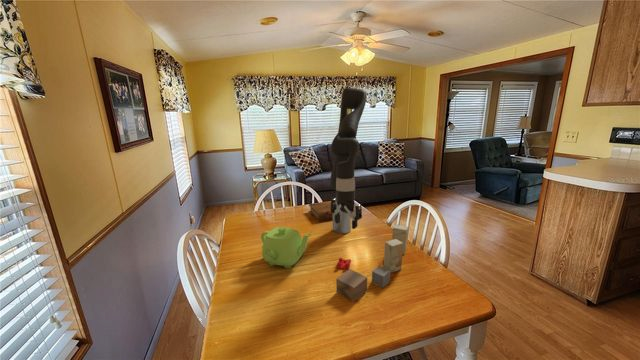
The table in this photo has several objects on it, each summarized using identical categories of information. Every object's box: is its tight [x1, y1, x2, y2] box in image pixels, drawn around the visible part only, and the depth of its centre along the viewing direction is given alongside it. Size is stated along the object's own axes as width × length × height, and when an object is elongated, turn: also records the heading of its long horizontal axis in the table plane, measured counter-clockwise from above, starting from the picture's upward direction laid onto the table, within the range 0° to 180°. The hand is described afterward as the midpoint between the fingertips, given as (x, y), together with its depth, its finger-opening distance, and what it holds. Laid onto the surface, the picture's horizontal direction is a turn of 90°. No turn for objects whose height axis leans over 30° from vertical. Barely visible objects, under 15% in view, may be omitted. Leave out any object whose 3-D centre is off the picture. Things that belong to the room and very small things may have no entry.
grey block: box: [371, 265, 391, 289], centre depth 104 cm, size 5×5×5 cm
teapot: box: [260, 226, 313, 270], centre depth 116 cm, size 25×22×16 cm
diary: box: [308, 200, 352, 223], centre depth 173 cm, size 23×19×6 cm
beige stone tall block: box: [391, 224, 409, 255], centre depth 125 cm, size 6×4×12 cm
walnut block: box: [335, 268, 368, 303], centre depth 99 cm, size 8×8×6 cm
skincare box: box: [383, 239, 403, 274], centre depth 111 cm, size 6×4×12 cm
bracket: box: [337, 257, 352, 271], centre depth 116 cm, size 6×5×3 cm
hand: (345, 225), depth 112 cm, fingers open, 8 cm apart
